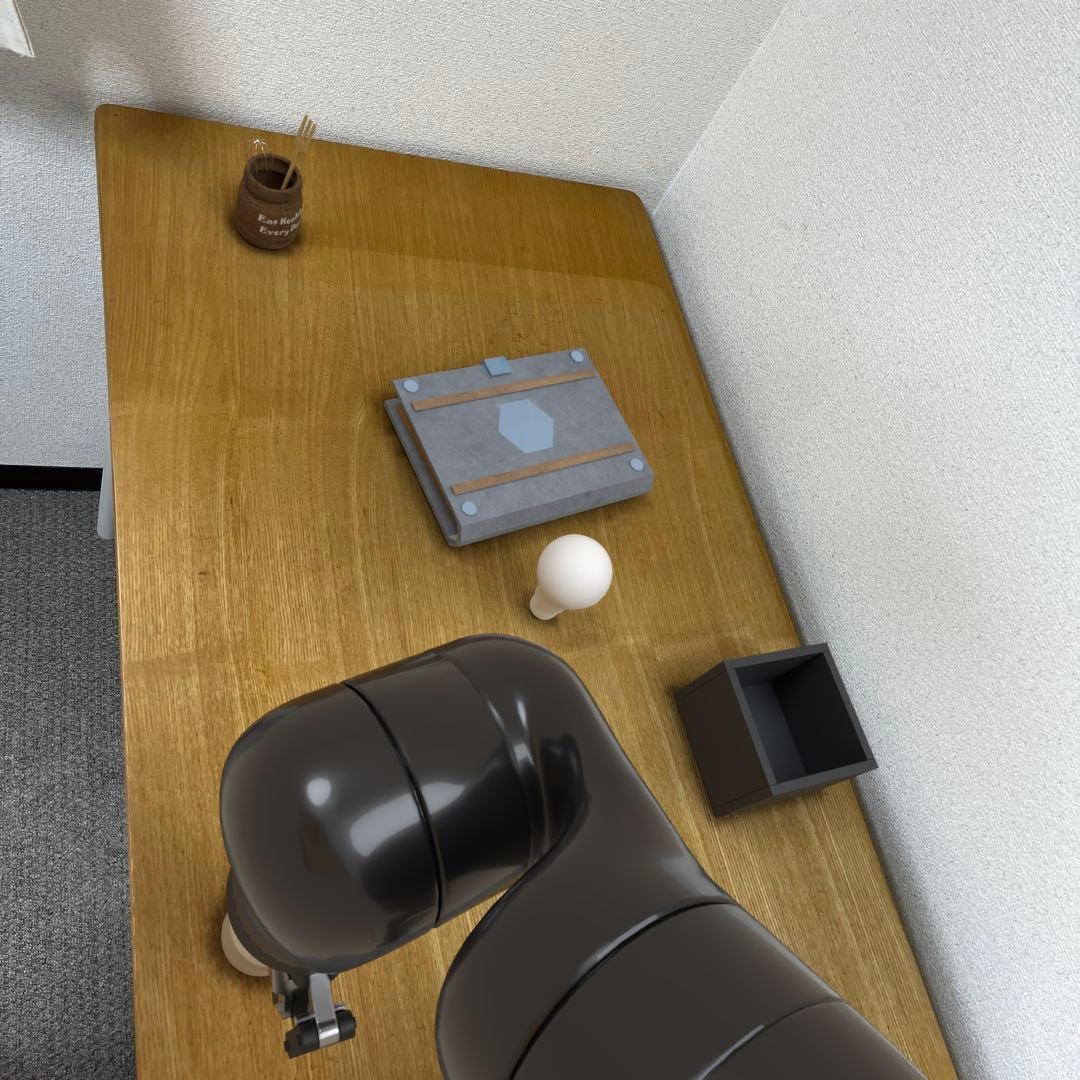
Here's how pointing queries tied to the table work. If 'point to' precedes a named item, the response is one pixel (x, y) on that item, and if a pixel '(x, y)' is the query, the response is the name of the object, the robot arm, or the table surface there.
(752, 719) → the bin
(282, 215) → the utensil holder
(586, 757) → the robot arm
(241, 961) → the candle
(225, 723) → the table surface
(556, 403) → the book
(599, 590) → the lightbulb
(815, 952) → the table surface
